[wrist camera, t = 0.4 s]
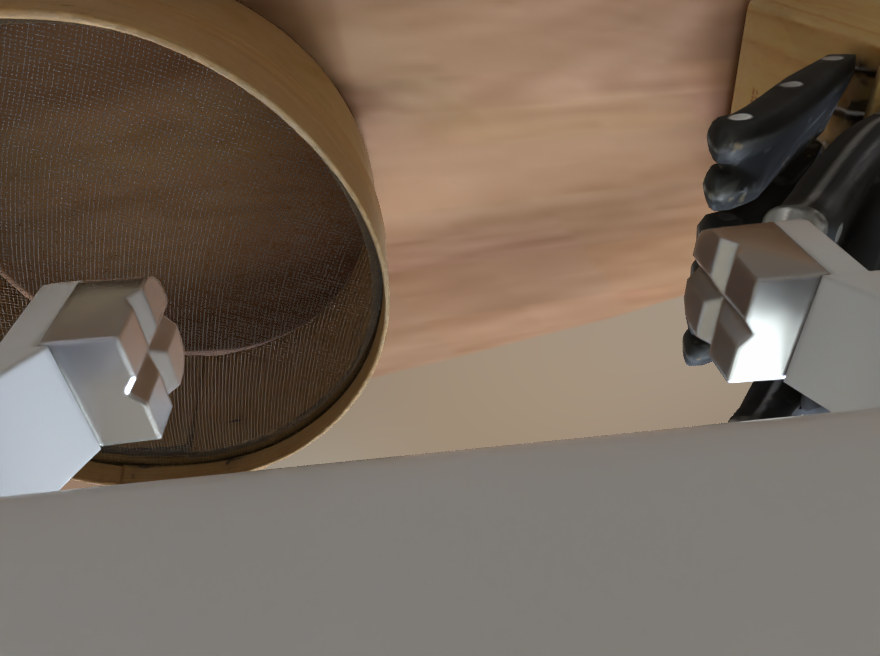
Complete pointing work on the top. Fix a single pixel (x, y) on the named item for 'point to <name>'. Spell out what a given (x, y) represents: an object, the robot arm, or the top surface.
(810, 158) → the knife block
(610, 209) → the top surface
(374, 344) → the steamer basket
